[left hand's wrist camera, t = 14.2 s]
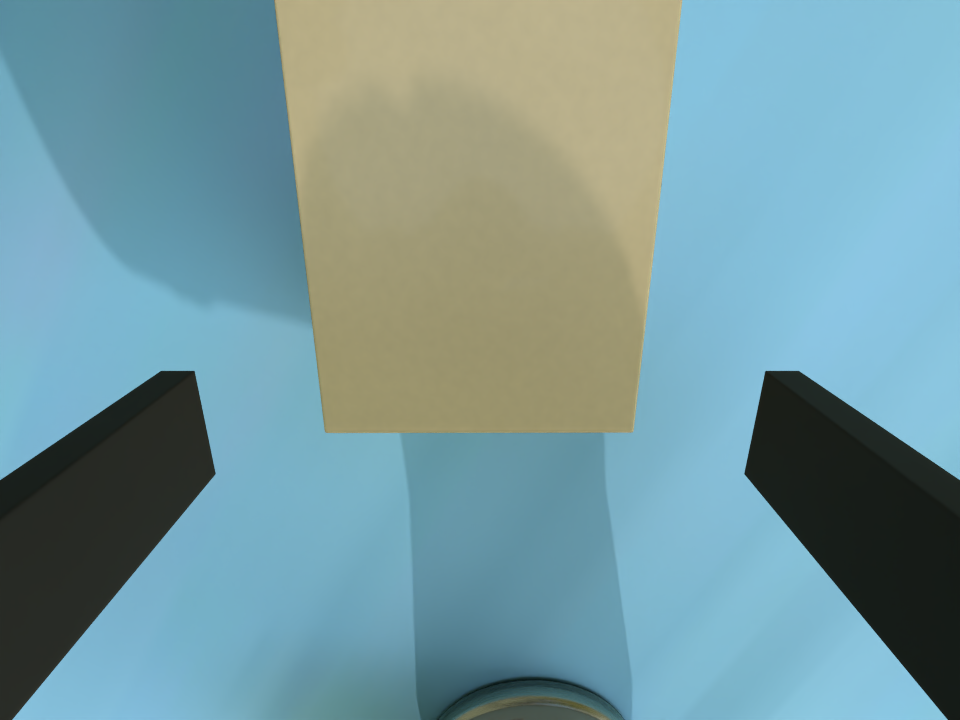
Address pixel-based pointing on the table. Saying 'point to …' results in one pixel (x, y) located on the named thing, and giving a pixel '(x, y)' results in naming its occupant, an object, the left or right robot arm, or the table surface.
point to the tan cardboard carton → (478, 206)
